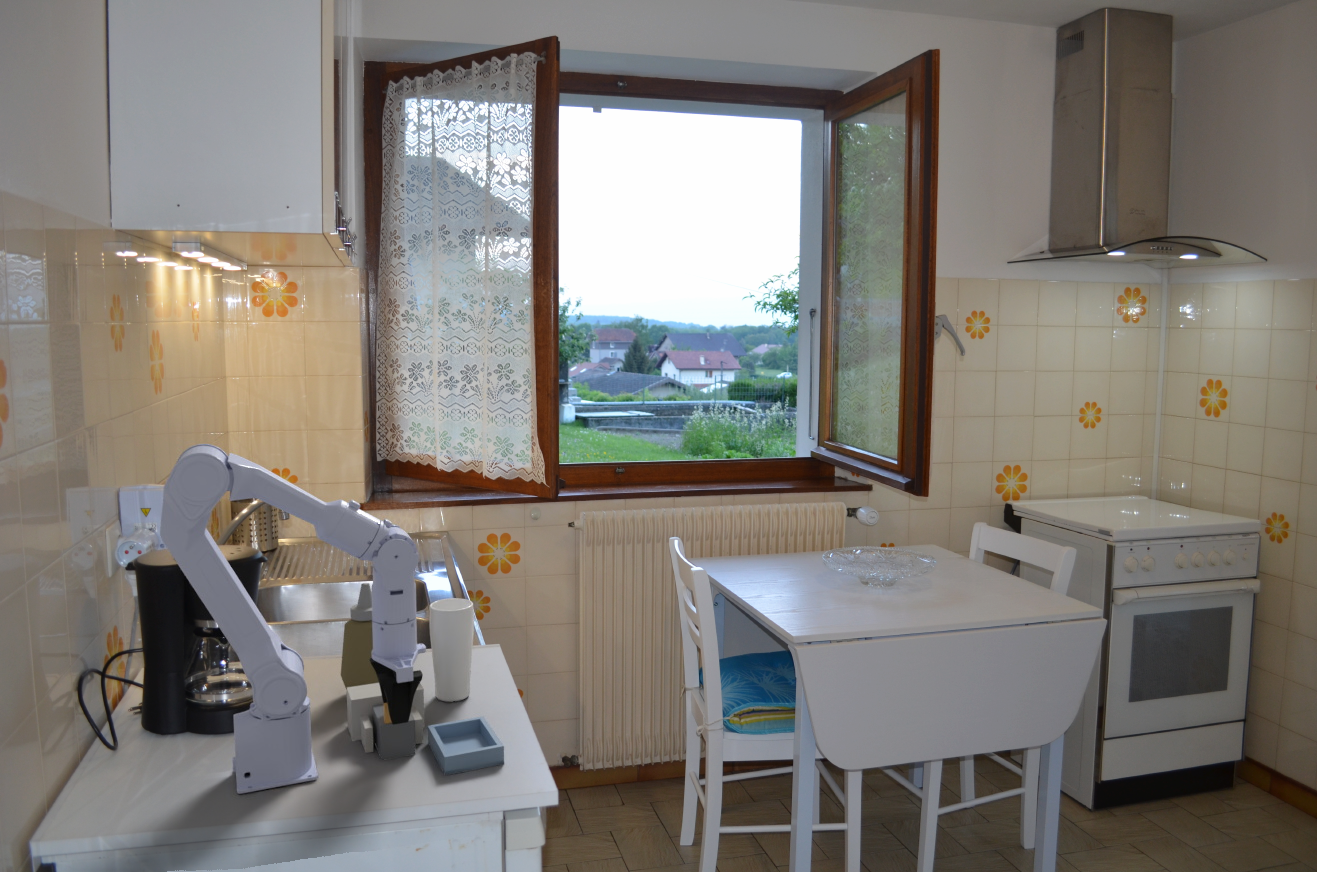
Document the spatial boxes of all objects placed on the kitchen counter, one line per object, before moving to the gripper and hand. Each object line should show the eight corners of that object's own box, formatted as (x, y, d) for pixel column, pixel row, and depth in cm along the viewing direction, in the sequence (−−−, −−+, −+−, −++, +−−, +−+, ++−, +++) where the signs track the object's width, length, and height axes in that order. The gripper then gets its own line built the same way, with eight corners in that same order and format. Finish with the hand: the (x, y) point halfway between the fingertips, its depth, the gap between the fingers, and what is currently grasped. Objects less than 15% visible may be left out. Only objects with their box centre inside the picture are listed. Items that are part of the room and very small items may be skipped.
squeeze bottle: (365, 709, 141) (362, 594, 139) (330, 697, 145) (326, 585, 143) (405, 691, 148) (403, 582, 146) (370, 681, 152) (368, 574, 150)
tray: (445, 775, 121) (444, 757, 121) (428, 742, 130) (427, 725, 130) (504, 763, 124) (503, 745, 124) (483, 732, 134) (483, 716, 133)
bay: (357, 754, 127) (355, 712, 126) (347, 727, 135) (346, 687, 134) (430, 741, 131) (430, 700, 130) (417, 715, 139) (416, 676, 139)
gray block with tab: (373, 739, 131) (371, 688, 130) (405, 734, 133) (404, 683, 132) (381, 760, 125) (380, 707, 124) (415, 754, 127) (414, 702, 126)
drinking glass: (464, 706, 143) (463, 612, 141) (423, 702, 144) (421, 608, 142) (481, 690, 149) (480, 599, 147) (441, 686, 151) (440, 596, 149)
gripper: (436, 630, 120) (437, 730, 121) (414, 599, 133) (415, 690, 134) (379, 637, 117) (382, 740, 118) (362, 605, 130) (365, 698, 131)
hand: (396, 714), depth 126 cm, fingers open, 5 cm apart
